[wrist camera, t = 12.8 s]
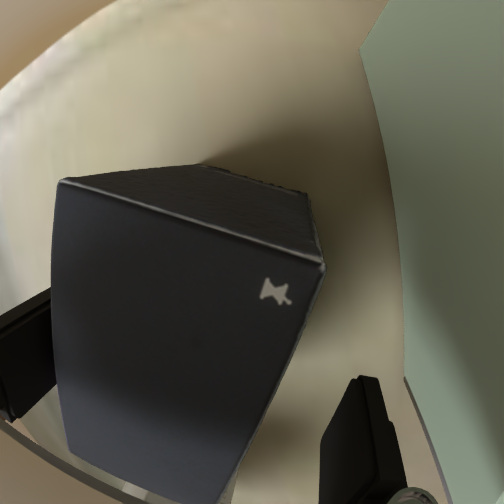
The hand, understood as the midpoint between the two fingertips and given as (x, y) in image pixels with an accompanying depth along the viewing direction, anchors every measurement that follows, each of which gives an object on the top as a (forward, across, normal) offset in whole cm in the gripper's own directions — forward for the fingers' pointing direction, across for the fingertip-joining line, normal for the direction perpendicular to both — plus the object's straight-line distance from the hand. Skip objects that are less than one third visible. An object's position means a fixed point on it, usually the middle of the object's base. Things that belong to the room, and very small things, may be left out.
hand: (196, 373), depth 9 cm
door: (+8, -8, -5) cm, 12 cm away
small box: (+8, +1, 0) cm, 9 cm away
